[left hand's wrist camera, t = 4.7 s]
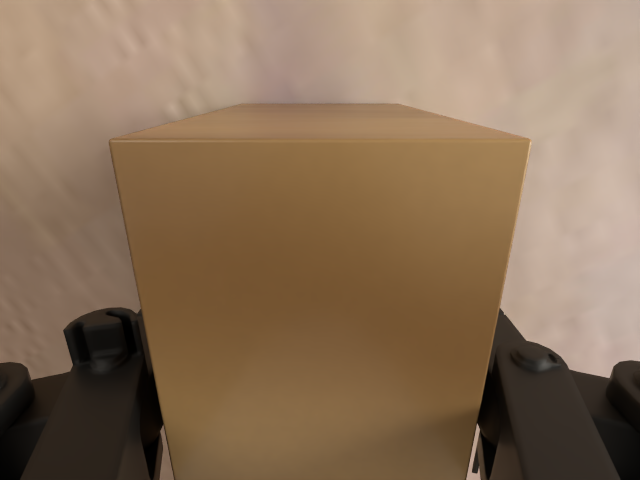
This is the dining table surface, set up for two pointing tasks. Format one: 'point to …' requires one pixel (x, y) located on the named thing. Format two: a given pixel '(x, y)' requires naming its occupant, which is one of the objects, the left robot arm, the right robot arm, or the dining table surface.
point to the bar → (320, 285)
